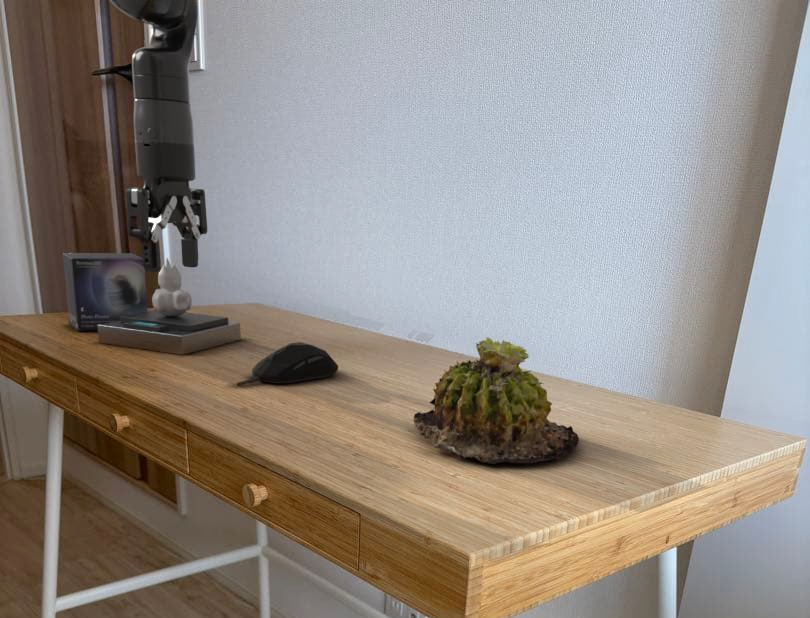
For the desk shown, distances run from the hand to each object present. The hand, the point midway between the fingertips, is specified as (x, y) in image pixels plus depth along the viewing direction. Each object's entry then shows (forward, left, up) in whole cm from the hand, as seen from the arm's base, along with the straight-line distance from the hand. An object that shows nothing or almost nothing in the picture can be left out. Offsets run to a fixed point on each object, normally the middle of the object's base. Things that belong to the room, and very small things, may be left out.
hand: (171, 269), depth 116 cm
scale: (0, -1, -10) cm, 10 cm away
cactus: (+55, -24, -10) cm, 61 cm away
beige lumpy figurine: (0, 0, -7) cm, 7 cm away
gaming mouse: (+25, -12, -10) cm, 30 cm away
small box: (-14, +3, -10) cm, 18 cm away
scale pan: (0, 0, -7) cm, 7 cm away
